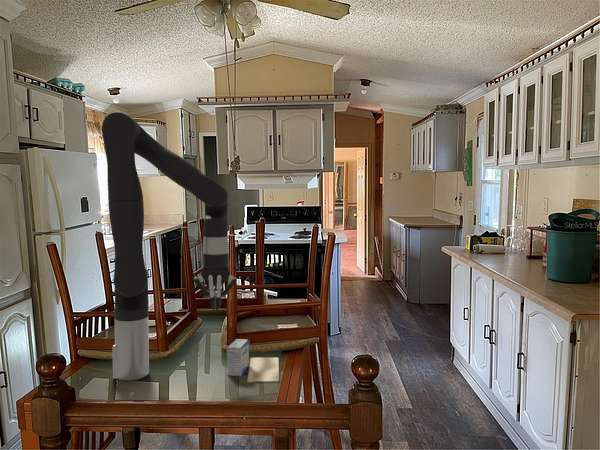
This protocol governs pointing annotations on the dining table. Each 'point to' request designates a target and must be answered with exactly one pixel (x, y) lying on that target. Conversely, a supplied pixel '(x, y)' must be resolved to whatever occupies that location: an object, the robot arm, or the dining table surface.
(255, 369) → the board
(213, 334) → the dining table surface
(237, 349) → the medicine box
